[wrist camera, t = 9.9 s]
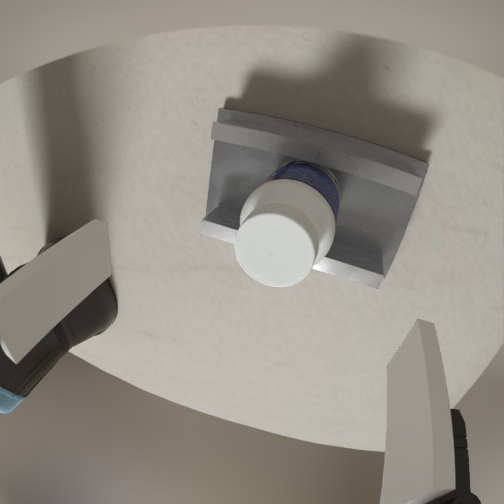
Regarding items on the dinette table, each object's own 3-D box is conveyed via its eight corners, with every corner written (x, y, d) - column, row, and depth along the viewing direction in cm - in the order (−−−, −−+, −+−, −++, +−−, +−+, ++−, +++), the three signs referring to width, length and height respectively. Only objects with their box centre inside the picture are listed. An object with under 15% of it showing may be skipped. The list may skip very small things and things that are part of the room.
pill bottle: (281, 147, 21) (231, 181, 13) (350, 172, 21) (347, 223, 13) (263, 211, 24) (211, 275, 16) (326, 235, 24) (306, 313, 15)
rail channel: (208, 219, 27) (188, 237, 24) (223, 107, 22) (201, 110, 19) (384, 273, 24) (386, 299, 21) (426, 162, 19) (439, 174, 16)
